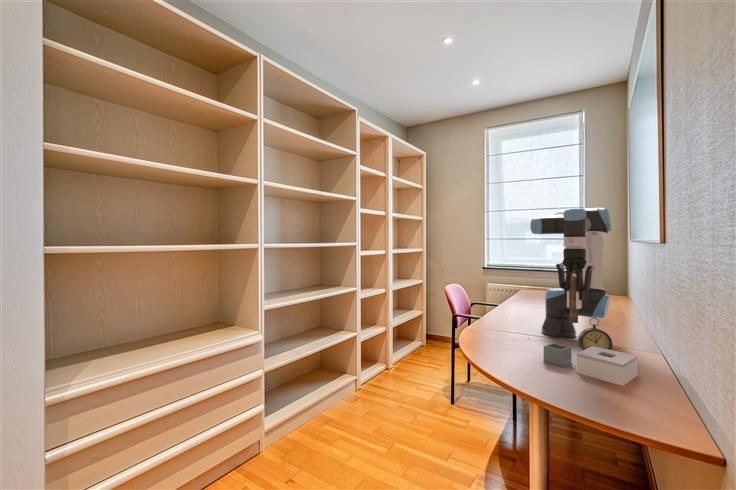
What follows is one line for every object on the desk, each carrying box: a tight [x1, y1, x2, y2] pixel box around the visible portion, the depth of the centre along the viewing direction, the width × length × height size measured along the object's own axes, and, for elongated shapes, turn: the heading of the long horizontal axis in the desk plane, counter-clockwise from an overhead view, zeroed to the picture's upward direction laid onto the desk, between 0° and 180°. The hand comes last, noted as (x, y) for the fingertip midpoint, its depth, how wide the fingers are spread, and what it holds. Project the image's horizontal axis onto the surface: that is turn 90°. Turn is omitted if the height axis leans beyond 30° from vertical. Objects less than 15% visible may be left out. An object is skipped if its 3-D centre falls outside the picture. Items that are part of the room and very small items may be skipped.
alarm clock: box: [577, 317, 613, 351], centre depth 138 cm, size 11×5×16 cm, turn 73°
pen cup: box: [543, 342, 573, 368], centre depth 133 cm, size 7×7×6 cm
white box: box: [576, 346, 639, 387], centre depth 121 cm, size 14×14×7 cm
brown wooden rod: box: [570, 275, 579, 324], centre depth 134 cm, size 3×3×18 cm
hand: (574, 307), depth 134 cm, fingers closed on brown wooden rod, 3 cm apart
